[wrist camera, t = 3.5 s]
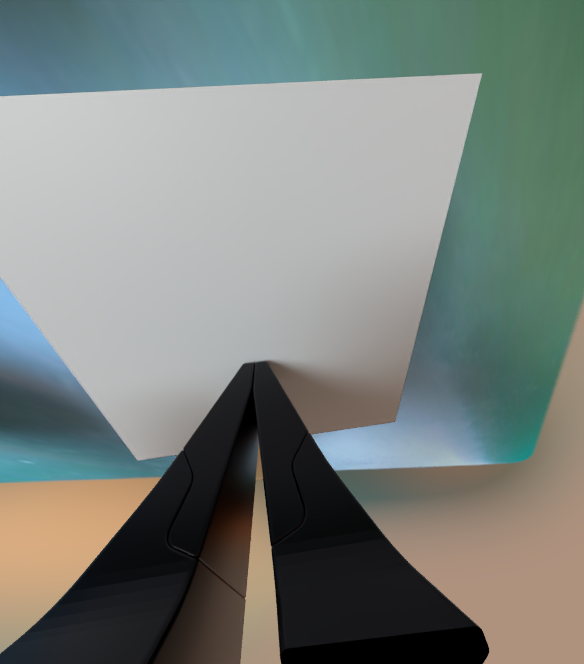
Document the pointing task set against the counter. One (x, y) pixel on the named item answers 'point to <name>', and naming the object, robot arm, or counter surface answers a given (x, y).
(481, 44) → the counter surface
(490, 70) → the counter surface
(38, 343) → the counter surface
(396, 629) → the robot arm
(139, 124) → the lid
